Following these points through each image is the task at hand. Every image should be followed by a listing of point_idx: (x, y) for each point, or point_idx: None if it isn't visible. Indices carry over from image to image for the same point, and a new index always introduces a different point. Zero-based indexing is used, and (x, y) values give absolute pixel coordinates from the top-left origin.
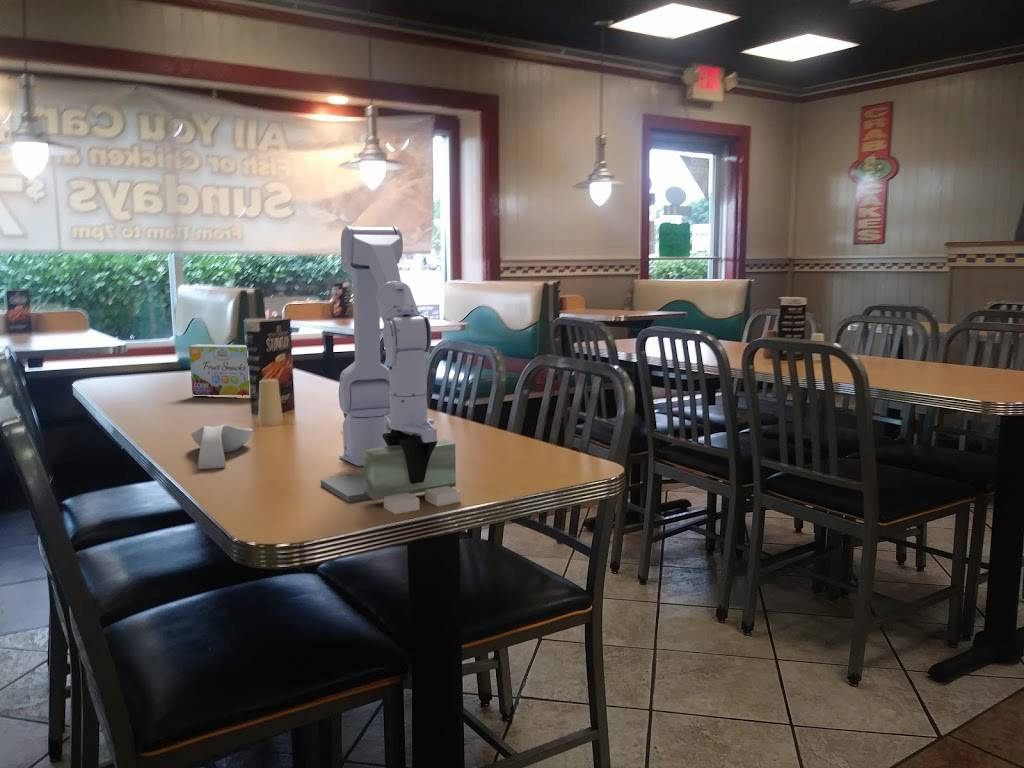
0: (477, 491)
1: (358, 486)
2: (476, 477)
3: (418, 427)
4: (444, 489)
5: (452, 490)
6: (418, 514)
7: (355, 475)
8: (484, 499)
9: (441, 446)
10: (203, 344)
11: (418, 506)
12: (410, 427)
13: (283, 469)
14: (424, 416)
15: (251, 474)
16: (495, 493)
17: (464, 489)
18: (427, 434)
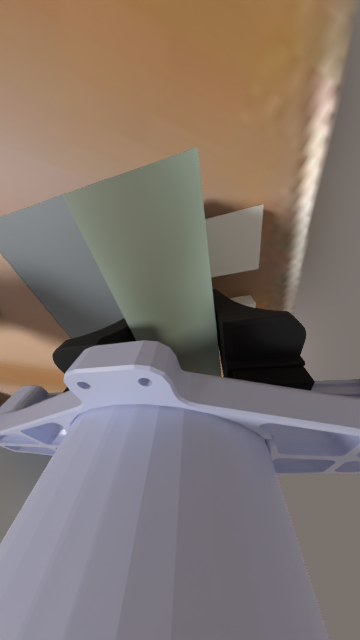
0: (194, 108)
1: None
2: (29, 29)
3: (336, 465)
4: (227, 239)
5: (246, 222)
6: (272, 302)
7: (75, 336)
8: (279, 117)
9: (207, 254)
10: None
11: (252, 298)
12: (301, 473)
13: (32, 373)
14: (278, 514)
15: (55, 391)
16: (245, 25)
17: (162, 151)
18: None
